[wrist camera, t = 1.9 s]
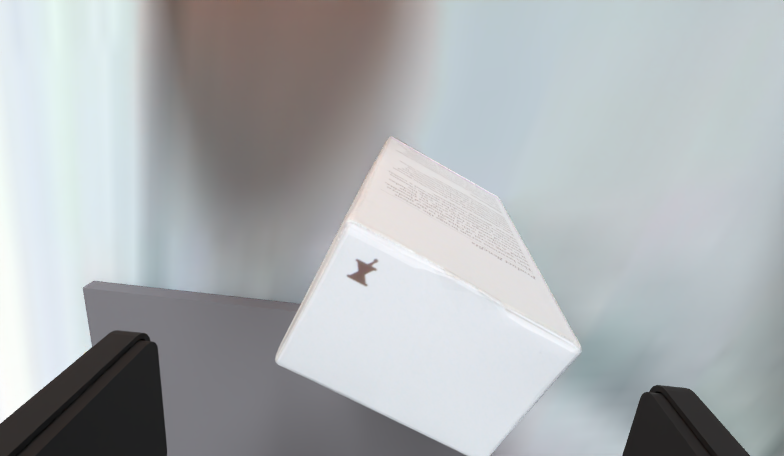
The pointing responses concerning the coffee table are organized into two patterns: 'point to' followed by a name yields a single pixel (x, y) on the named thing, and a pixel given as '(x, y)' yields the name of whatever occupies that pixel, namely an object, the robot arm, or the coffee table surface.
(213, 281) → the coffee table surface
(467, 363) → the skincare box
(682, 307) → the coffee table surface
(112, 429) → the robot arm
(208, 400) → the mat
